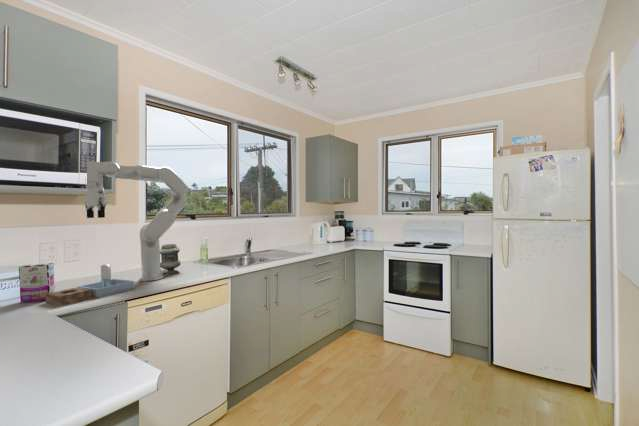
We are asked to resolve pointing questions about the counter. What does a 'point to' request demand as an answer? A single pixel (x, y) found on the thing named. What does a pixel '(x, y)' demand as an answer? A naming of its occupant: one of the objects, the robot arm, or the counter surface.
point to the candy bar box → (36, 281)
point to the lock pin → (105, 275)
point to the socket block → (68, 296)
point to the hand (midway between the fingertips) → (95, 217)
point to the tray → (108, 287)
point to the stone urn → (169, 258)
